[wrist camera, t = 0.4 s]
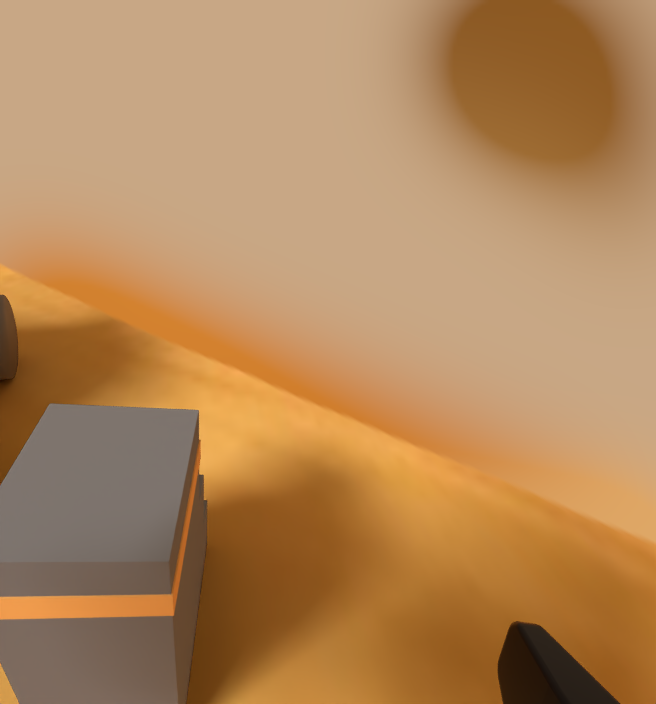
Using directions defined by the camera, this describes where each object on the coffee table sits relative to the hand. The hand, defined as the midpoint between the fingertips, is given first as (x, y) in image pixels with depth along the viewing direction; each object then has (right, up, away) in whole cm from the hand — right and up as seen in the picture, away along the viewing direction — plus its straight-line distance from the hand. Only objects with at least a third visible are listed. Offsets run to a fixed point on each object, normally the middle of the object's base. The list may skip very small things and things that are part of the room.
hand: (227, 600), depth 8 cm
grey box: (-7, -9, +15) cm, 18 cm away
